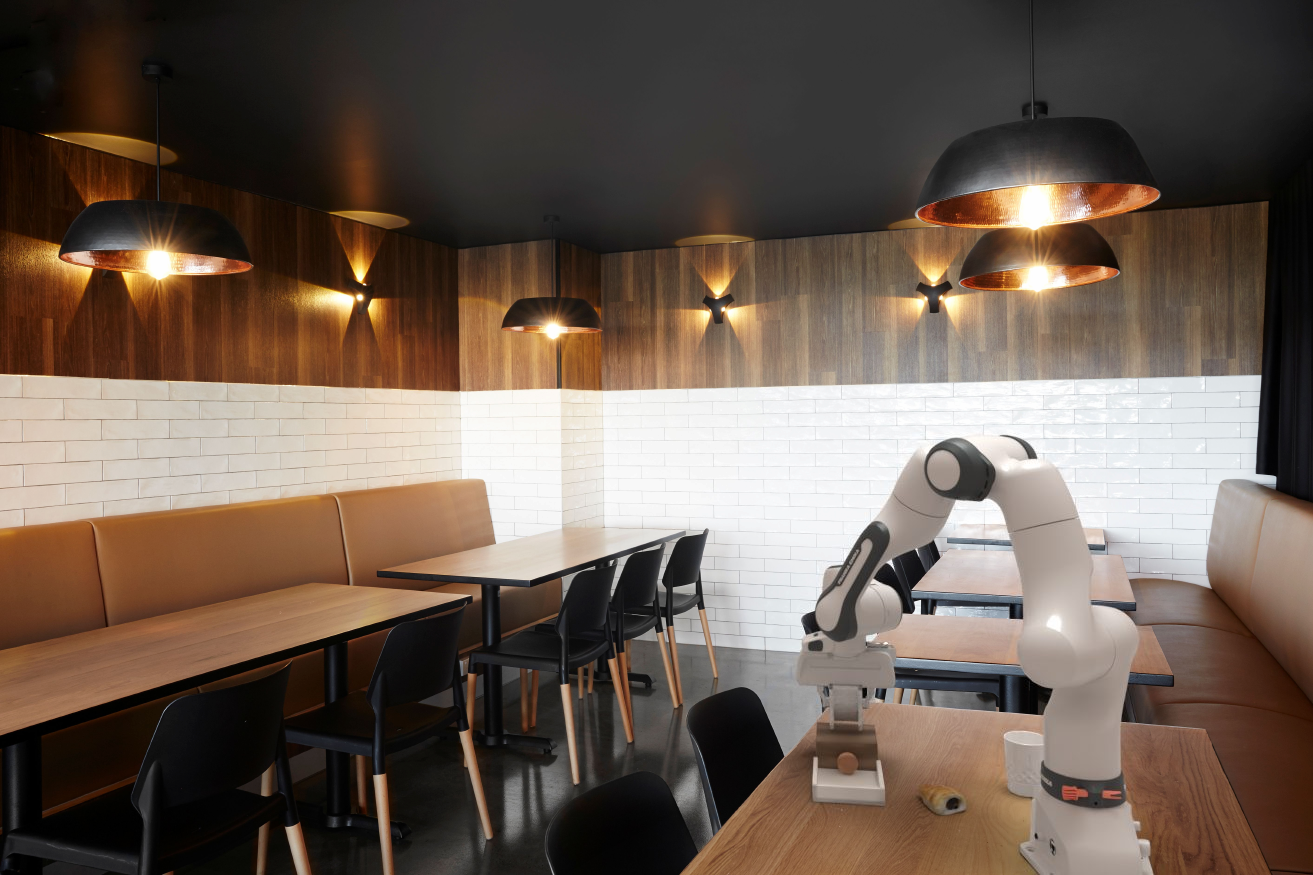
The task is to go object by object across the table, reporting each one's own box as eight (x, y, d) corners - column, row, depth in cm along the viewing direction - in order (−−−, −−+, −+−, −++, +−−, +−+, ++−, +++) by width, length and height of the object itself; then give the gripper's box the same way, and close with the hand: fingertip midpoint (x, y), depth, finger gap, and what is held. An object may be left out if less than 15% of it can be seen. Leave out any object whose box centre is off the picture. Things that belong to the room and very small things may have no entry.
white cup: (1056, 789, 167) (1055, 736, 167) (1041, 802, 161) (1040, 747, 161) (1014, 779, 172) (1013, 727, 172) (997, 791, 166) (997, 738, 166)
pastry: (909, 797, 165) (909, 776, 165) (940, 792, 167) (940, 772, 167) (939, 818, 156) (938, 796, 156) (971, 813, 158) (971, 791, 158)
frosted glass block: (862, 730, 181) (862, 686, 181) (829, 728, 182) (829, 685, 182) (861, 720, 187) (861, 677, 187) (829, 718, 188) (829, 676, 188)
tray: (885, 805, 161) (885, 789, 161) (812, 801, 163) (812, 785, 163) (880, 775, 175) (880, 760, 175) (813, 771, 178) (813, 756, 178)
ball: (857, 762, 172) (857, 747, 175) (836, 761, 172) (836, 747, 176) (858, 778, 173) (857, 763, 177) (837, 777, 174) (837, 762, 178)
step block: (878, 774, 176) (877, 744, 176) (816, 770, 178) (816, 741, 178) (875, 752, 187) (874, 724, 187) (817, 749, 190) (816, 721, 190)
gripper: (894, 638, 186) (896, 704, 186) (796, 636, 190) (797, 700, 190) (897, 645, 179) (898, 713, 179) (794, 643, 183) (796, 709, 183)
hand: (845, 707), depth 184 cm, fingers closed on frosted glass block, 7 cm apart
